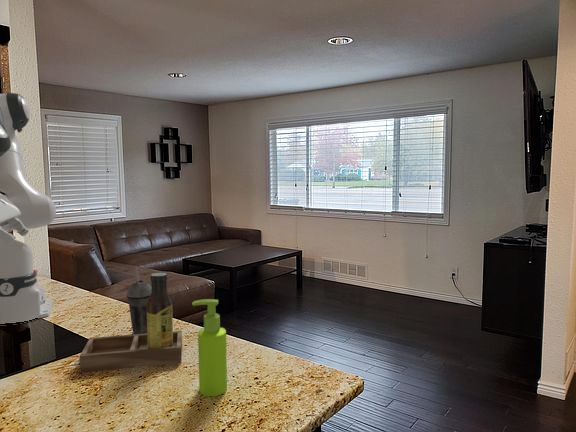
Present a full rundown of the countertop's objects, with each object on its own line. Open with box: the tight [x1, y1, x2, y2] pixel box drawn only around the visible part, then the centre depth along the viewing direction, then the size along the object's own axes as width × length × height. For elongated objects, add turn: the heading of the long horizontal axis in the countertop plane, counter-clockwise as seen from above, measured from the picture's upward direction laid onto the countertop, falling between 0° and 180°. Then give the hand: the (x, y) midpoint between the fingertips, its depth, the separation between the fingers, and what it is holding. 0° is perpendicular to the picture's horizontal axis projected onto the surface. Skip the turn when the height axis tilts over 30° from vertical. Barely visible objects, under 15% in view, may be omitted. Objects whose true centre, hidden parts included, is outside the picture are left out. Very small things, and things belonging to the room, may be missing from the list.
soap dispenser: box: [191, 298, 228, 397], centre depth 95 cm, size 6×7×20 cm
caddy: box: [79, 330, 183, 373], centre depth 111 cm, size 11×23×4 cm, turn 102°
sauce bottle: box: [147, 272, 174, 349], centre depth 111 cm, size 7×6×20 cm
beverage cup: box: [126, 266, 152, 335], centre depth 126 cm, size 7×7×20 cm
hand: (19, 237), depth 106 cm, fingers open, 8 cm apart
